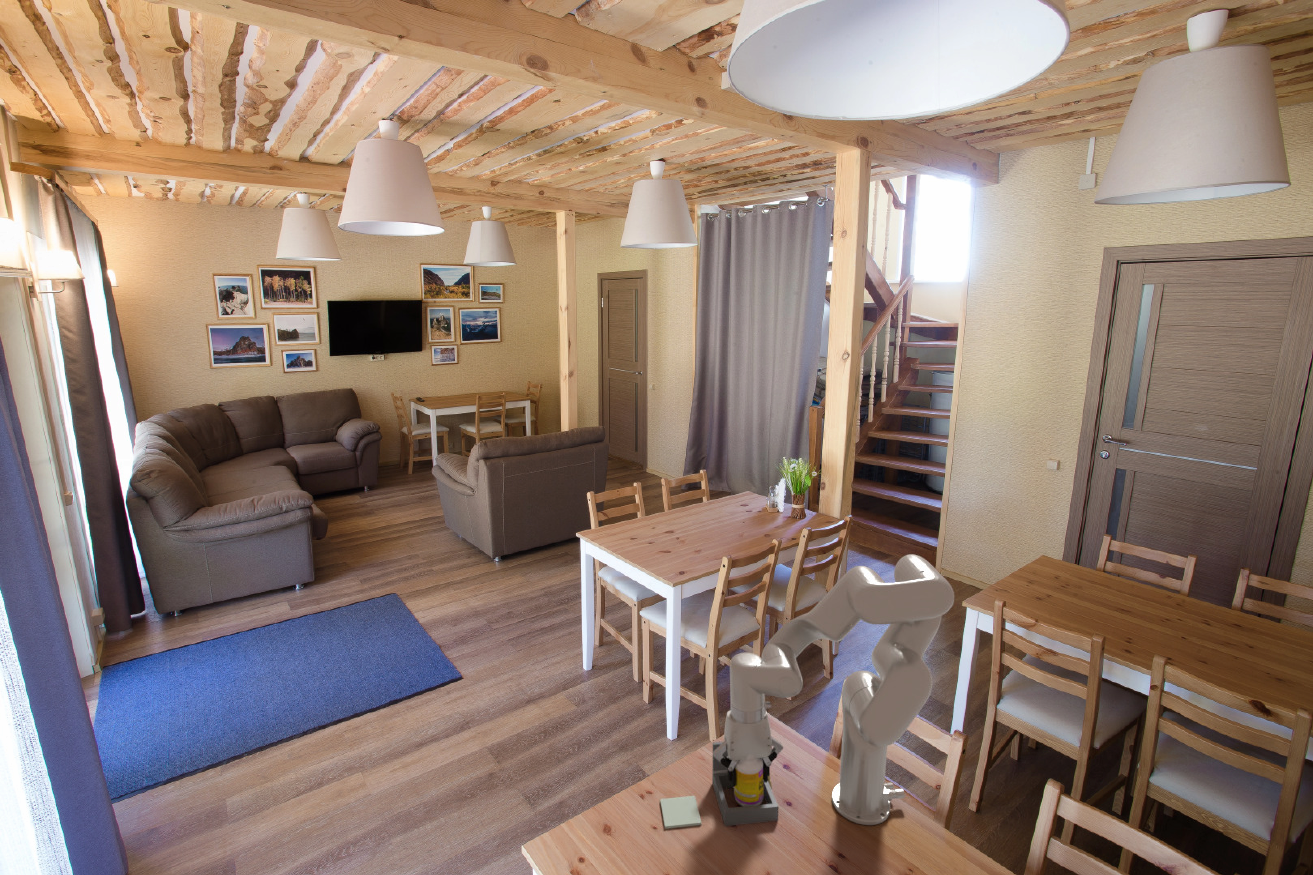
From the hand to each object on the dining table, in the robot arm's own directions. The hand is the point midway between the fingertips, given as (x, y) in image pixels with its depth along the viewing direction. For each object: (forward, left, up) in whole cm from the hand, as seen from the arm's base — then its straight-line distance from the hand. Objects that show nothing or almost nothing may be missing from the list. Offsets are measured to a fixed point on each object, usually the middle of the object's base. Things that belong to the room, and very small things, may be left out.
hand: (748, 779), depth 144 cm
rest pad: (+16, +1, -6) cm, 17 cm away
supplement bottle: (0, 0, -5) cm, 5 cm away
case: (+1, 0, -6) cm, 6 cm away
